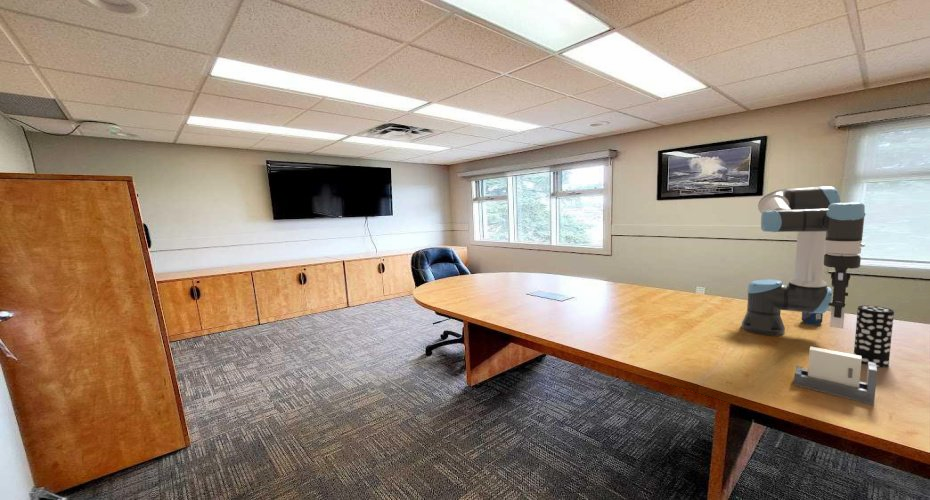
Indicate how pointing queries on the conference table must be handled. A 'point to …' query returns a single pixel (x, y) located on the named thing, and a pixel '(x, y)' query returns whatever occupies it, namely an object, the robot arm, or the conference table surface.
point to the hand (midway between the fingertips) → (836, 321)
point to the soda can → (812, 318)
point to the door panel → (835, 366)
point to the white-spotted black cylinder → (874, 334)
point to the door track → (840, 385)
